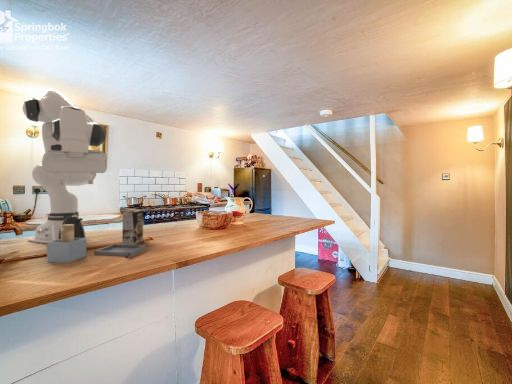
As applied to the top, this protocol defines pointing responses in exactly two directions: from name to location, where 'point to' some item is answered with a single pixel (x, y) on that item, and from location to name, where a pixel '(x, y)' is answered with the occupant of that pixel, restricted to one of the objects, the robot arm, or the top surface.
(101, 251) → the tray
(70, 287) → the top surface
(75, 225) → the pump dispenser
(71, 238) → the dowel
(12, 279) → the top surface
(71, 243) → the slate blue storage bin
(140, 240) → the coffee box
